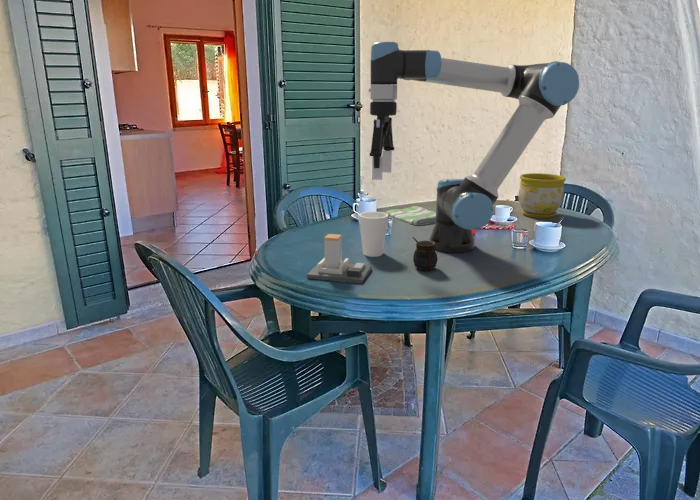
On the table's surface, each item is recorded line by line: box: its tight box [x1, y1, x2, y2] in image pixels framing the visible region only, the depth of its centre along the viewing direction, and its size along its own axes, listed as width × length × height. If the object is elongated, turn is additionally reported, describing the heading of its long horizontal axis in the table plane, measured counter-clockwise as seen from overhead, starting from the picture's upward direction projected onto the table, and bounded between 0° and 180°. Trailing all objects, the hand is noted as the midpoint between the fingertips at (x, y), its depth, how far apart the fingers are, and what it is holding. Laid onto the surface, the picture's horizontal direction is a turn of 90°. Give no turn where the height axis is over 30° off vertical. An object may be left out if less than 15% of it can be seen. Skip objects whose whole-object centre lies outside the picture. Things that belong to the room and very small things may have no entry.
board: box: [306, 256, 373, 284], centre depth 147 cm, size 16×12×4 cm
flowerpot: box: [517, 172, 567, 219], centre depth 215 cm, size 18×18×16 cm
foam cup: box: [358, 211, 389, 258], centre depth 164 cm, size 10×9×13 cm
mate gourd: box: [412, 237, 439, 272], centre depth 151 cm, size 7×8×10 cm
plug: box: [323, 233, 343, 269], centre depth 147 cm, size 4×4×10 cm
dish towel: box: [384, 205, 436, 226], centre depth 213 cm, size 17×23×4 cm
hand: (382, 175), depth 151 cm, fingers open, 13 cm apart
